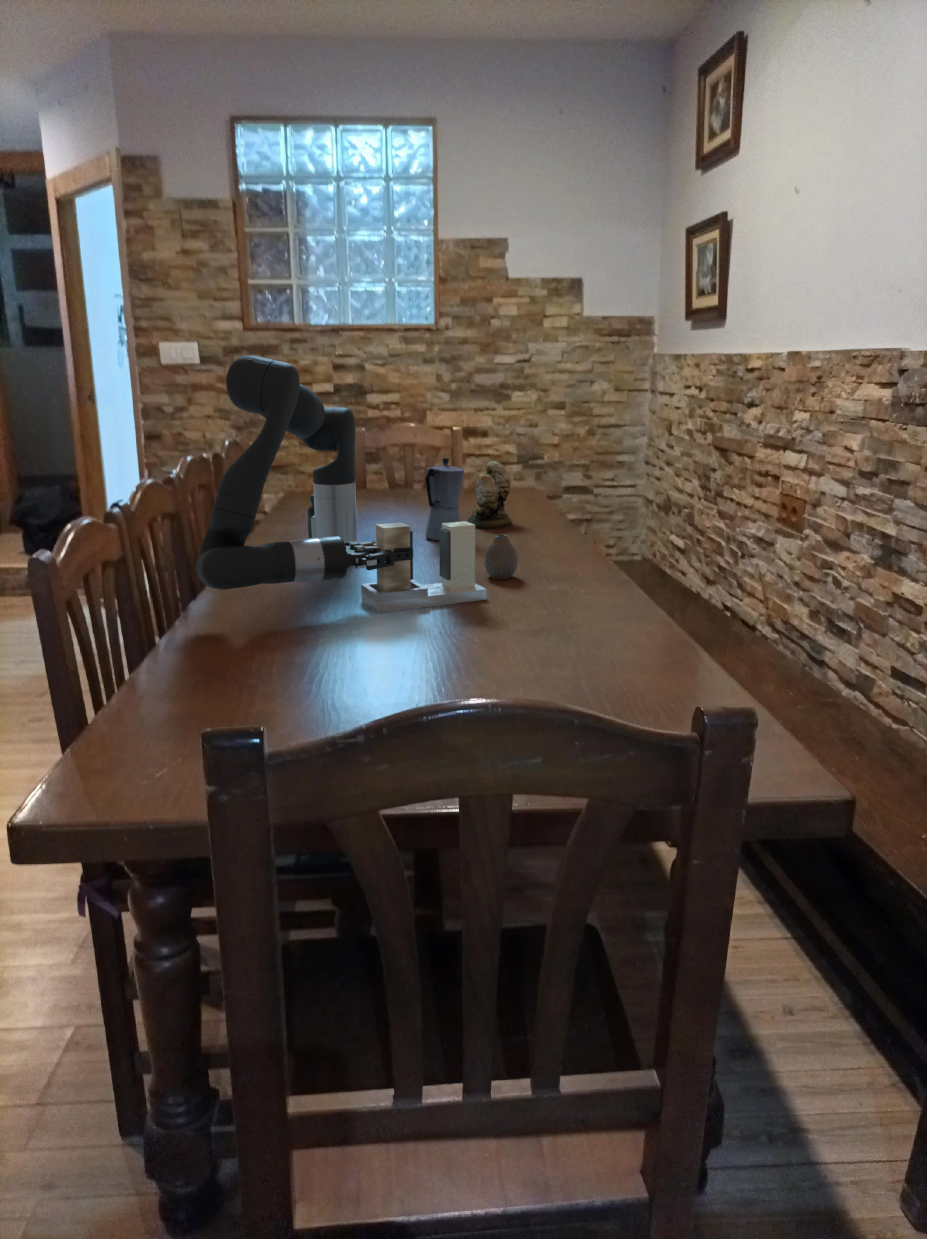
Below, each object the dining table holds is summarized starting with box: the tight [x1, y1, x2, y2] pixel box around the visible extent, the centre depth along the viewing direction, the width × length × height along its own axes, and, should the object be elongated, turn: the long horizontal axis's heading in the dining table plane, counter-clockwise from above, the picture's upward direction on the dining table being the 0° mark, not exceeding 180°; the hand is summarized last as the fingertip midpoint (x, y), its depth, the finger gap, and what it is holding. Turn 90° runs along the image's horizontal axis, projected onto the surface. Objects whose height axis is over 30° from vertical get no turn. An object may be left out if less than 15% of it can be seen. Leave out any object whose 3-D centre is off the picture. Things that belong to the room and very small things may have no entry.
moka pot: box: [424, 457, 465, 541], centre depth 214 cm, size 10×15×20 cm, turn 155°
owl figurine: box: [466, 460, 512, 530], centre depth 235 cm, size 18×12×17 cm, turn 169°
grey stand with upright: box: [360, 520, 488, 614], centre depth 160 cm, size 22×8×14 cm, turn 115°
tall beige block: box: [375, 522, 414, 592], centre depth 157 cm, size 6×4×12 cm
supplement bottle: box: [306, 493, 315, 538], centre depth 209 cm, size 7×7×12 cm
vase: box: [484, 534, 519, 580], centre depth 178 cm, size 7×7×9 cm
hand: (407, 550), depth 158 cm, fingers closed on tall beige block, 4 cm apart
